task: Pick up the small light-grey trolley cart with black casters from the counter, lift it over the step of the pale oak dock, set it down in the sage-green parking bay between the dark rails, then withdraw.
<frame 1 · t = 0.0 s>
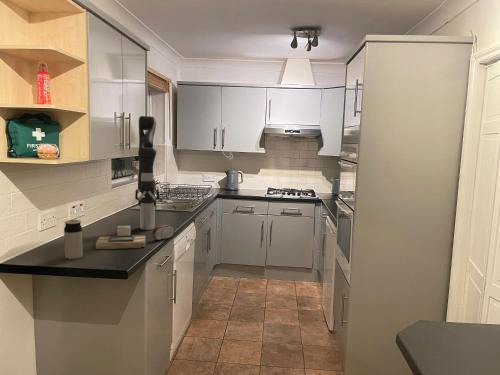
hand: (147, 206, 242), 17 cm above the table, tool pointing down, fingers open, 8 cm apart
tin: (163, 239, 233), on the table
travel mug: (73, 257, 193), on the table
loading dock: (121, 244, 218), on the table
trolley: (123, 237, 232), on the table
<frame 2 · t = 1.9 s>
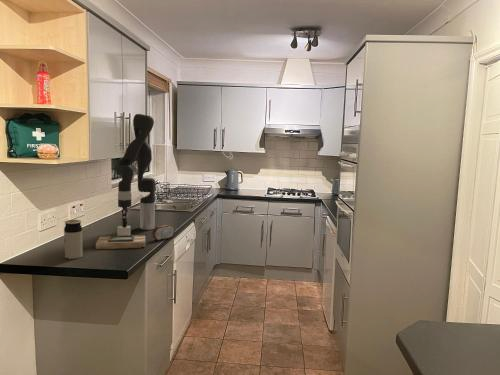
hand: (124, 225, 230), 7 cm above the table, tool pointing down, fingers open, 8 cm apart
nothing on the table moved.
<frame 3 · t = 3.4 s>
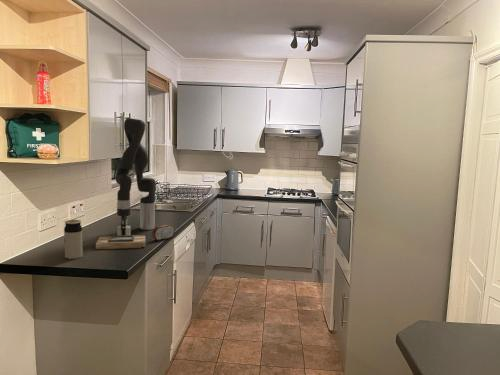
hand: (123, 235, 232), 1 cm above the table, tool pointing down, fingers closed on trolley, 5 cm apart
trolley: (123, 237, 232), on the table, touching gripper
everything else where it was.
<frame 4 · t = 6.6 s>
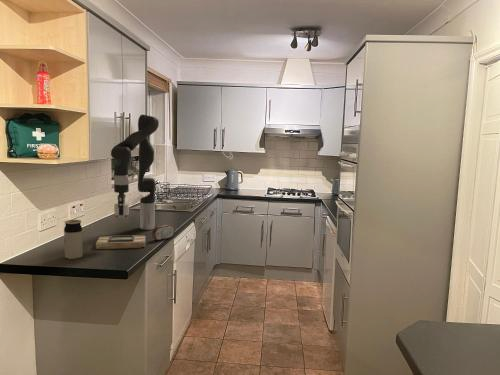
hand: (121, 213, 215), 17 cm above the table, tool pointing down, fingers closed on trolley, 5 cm apart
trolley: (121, 216, 216), point 16 cm above the table, touching gripper
everything else where it was.
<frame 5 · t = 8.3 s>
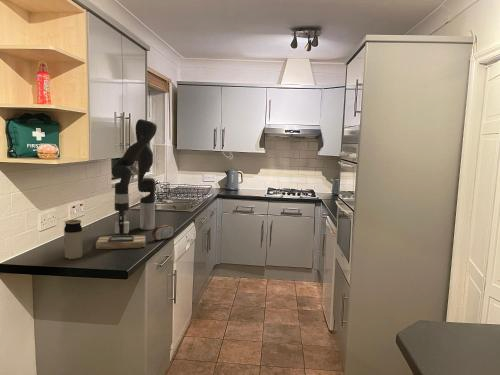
hand: (122, 231, 217), 7 cm above the table, tool pointing down, fingers closed on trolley, 5 cm apart
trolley: (122, 234, 217), point 6 cm above the table, touching gripper
everything else where it was.
when the fingers open (6 cm above the table, at t = 9.6 s): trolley drops 1 cm, resting on loading dock.
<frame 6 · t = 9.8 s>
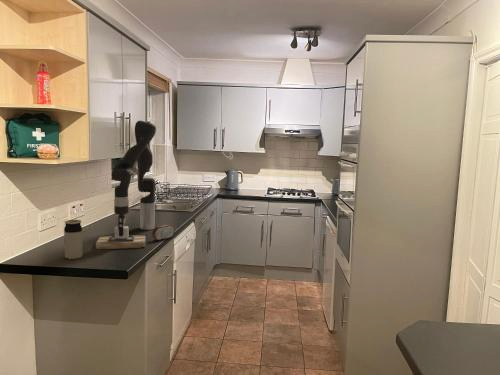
hand: (121, 234, 217), 6 cm above the table, tool pointing down, fingers open, 6 cm apart
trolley: (121, 239, 217), point 3 cm above the table, touching loading dock
everything else where it was.
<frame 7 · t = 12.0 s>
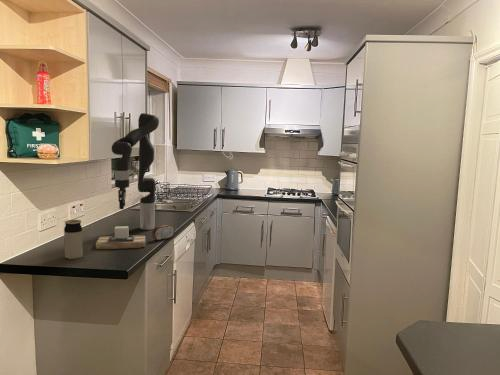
hand: (122, 207, 217), 21 cm above the table, tool pointing down, fingers open, 8 cm apart
nothing on the table moved.
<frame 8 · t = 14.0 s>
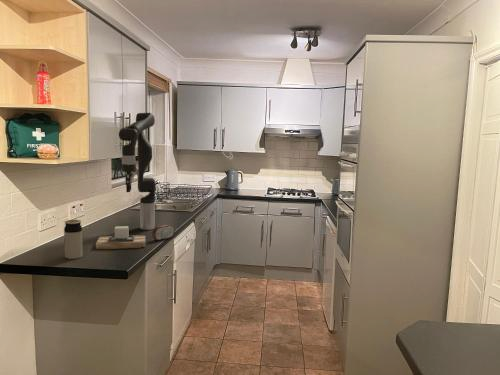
hand: (128, 191, 228), 28 cm above the table, tool pointing down, fingers open, 8 cm apart
nothing on the table moved.
at the end: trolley 0.0 cm off-centre on the loading dock, point 3.1 cm above the loading dock's base; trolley tilted 0°; the gripper is holding nothing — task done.
